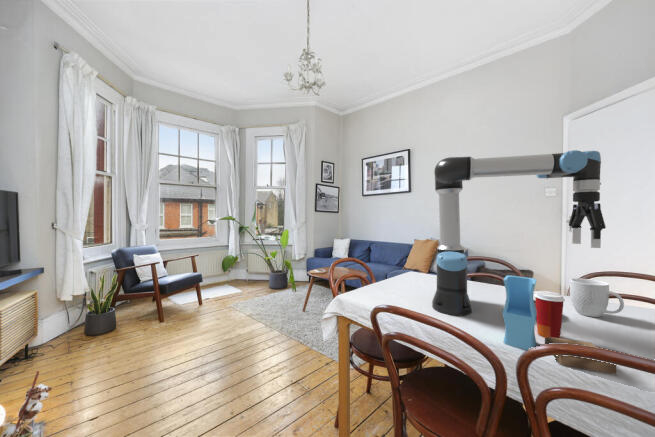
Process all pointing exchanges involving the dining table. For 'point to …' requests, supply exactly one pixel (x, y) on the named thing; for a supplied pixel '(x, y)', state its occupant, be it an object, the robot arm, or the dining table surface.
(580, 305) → the mug
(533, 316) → the vase
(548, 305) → the paper cup
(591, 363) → the base
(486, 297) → the dining table surface
